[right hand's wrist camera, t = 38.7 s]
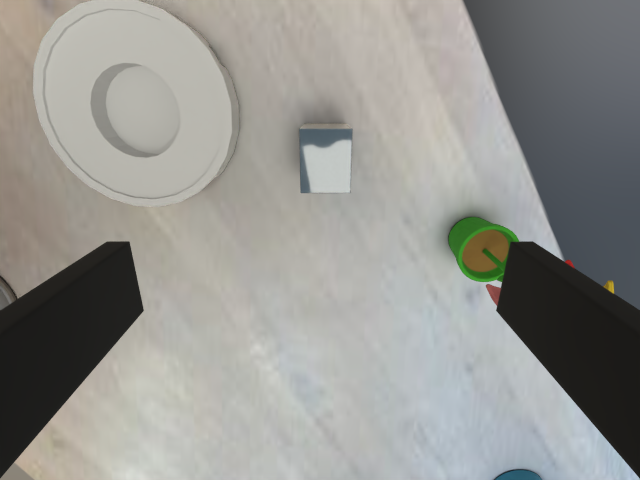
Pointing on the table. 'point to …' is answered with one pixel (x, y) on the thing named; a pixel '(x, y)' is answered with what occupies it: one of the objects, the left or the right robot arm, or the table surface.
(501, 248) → the potted flower
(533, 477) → the camera mount
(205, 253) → the table surface
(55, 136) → the ashtray
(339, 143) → the block
